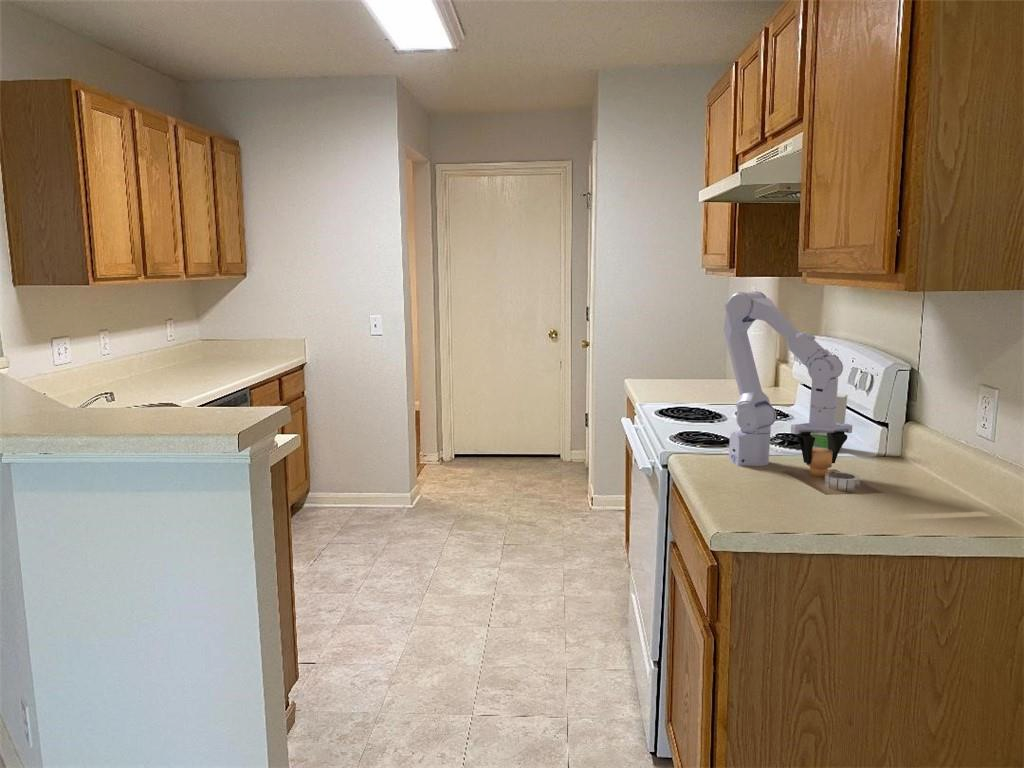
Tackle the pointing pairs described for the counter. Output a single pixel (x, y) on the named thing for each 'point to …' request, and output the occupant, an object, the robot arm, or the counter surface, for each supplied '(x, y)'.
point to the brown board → (820, 481)
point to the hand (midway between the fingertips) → (819, 462)
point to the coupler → (820, 462)
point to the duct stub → (842, 481)
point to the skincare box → (821, 438)
